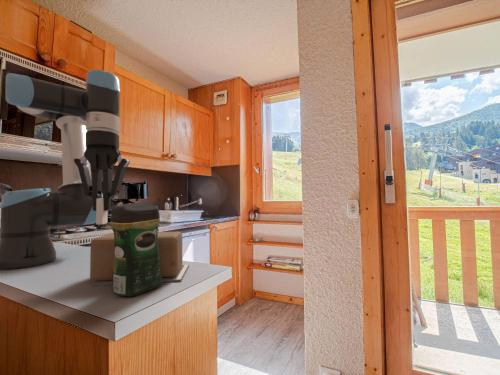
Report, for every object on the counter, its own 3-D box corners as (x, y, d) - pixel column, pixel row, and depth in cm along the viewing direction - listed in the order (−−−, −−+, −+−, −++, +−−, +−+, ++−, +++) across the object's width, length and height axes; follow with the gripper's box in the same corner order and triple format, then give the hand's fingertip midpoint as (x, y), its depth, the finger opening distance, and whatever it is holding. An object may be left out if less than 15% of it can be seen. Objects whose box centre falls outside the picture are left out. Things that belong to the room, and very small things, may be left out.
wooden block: (88, 282, 57) (176, 278, 59) (88, 239, 57) (176, 236, 60) (107, 270, 67) (182, 266, 69) (107, 233, 67) (182, 230, 70)
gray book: (116, 269, 69) (116, 267, 69) (189, 266, 71) (189, 264, 71) (91, 285, 56) (91, 283, 56) (181, 281, 58) (181, 279, 58)
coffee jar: (147, 277, 60) (146, 201, 60) (167, 285, 55) (166, 202, 55) (105, 292, 52) (103, 203, 52) (124, 302, 47) (123, 205, 47)
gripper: (66, 128, 60) (65, 226, 59) (123, 129, 61) (122, 224, 60) (84, 136, 67) (83, 222, 66) (134, 136, 68) (133, 221, 67)
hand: (101, 223), depth 63 cm, fingers closed
